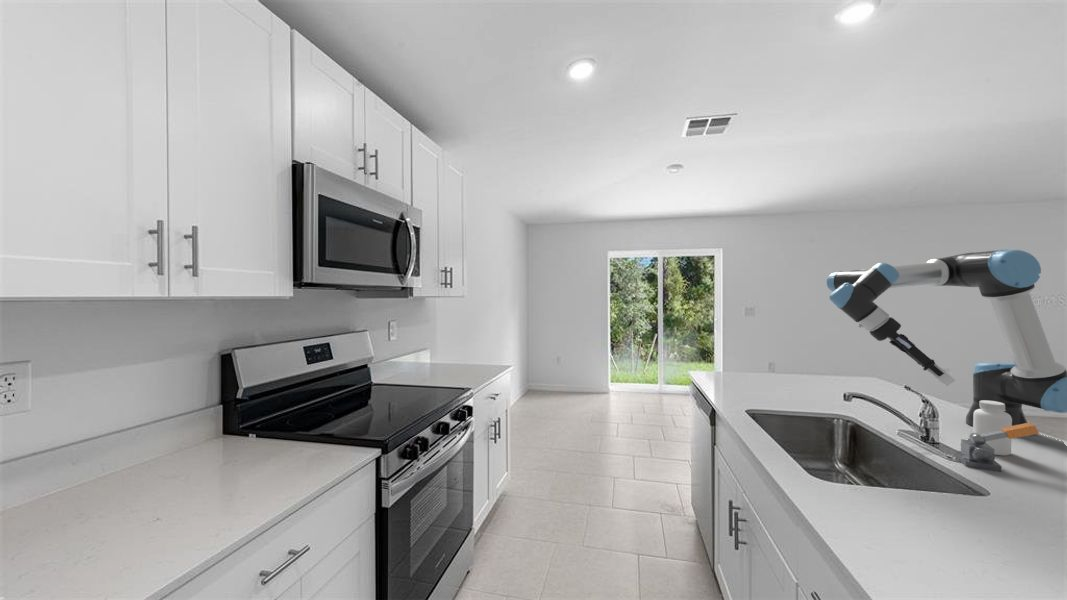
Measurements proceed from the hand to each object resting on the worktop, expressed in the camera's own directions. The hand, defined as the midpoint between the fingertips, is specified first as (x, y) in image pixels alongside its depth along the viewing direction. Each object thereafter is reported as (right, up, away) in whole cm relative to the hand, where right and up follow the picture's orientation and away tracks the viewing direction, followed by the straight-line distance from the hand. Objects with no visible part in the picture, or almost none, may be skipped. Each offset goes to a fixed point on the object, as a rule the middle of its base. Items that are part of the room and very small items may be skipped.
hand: (950, 382), depth 124 cm
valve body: (+4, -22, -4) cm, 23 cm away
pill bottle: (+17, -22, +5) cm, 28 cm away
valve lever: (+3, -16, -4) cm, 16 cm away
